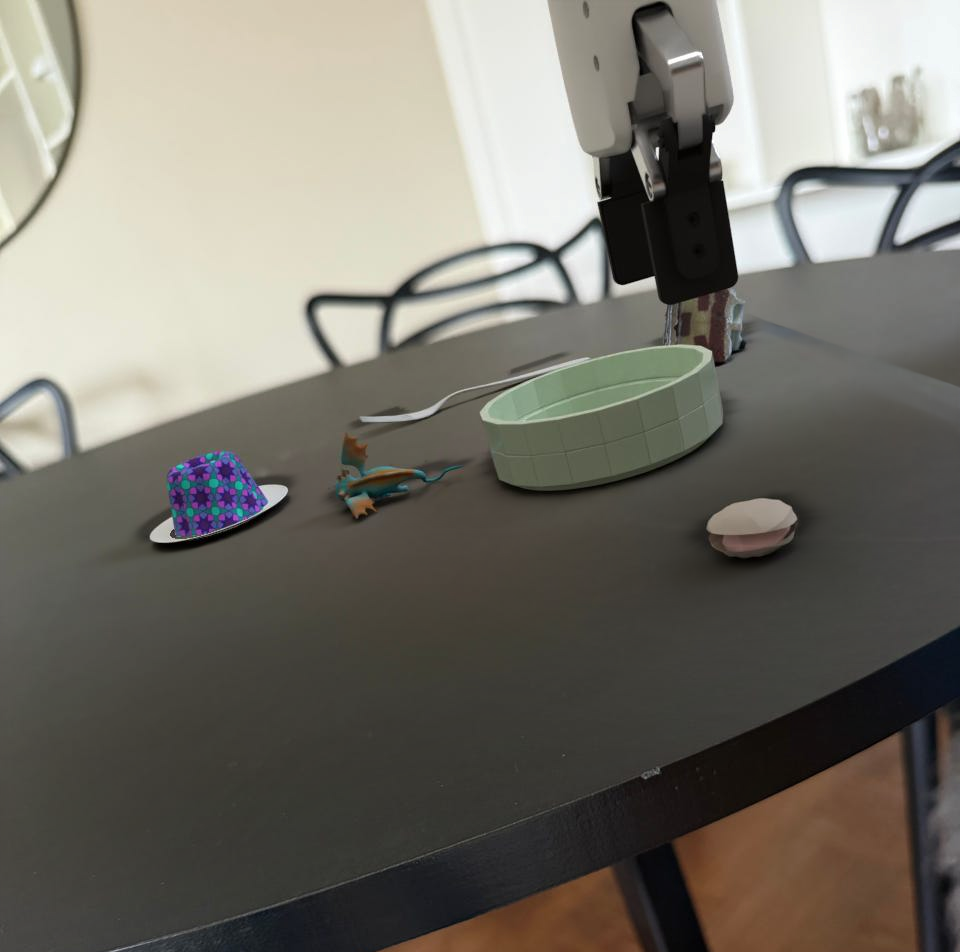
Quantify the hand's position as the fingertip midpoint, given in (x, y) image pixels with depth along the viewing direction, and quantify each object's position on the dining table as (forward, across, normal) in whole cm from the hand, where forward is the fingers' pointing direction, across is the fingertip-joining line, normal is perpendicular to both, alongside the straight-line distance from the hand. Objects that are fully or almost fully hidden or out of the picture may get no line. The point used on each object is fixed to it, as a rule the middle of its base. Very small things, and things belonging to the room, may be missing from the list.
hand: (670, 285), depth 46 cm
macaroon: (+13, -1, -2) cm, 13 cm away
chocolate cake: (+13, +43, -12) cm, 47 cm away
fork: (+13, +55, +8) cm, 58 cm away
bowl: (+13, +23, +1) cm, 27 cm away
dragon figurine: (+13, +27, +17) cm, 35 cm away
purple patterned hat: (+14, +36, +32) cm, 50 cm away
